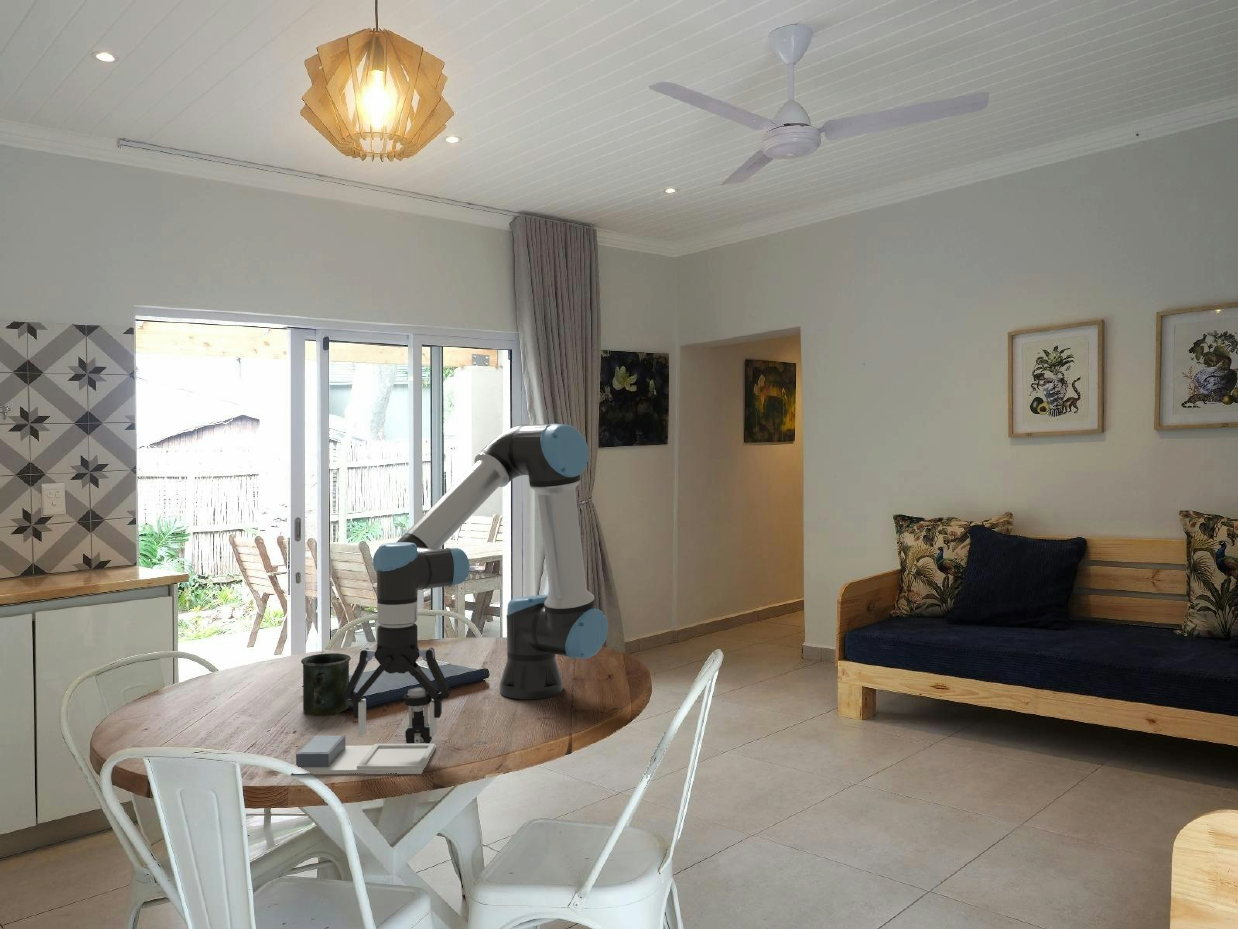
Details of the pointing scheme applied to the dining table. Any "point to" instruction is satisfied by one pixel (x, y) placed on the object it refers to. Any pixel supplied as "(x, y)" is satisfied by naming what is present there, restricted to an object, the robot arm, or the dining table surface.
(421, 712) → the push button
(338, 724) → the dining table surface
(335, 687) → the mug
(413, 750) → the board
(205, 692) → the dining table surface
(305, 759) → the blue-grey rectangular block
